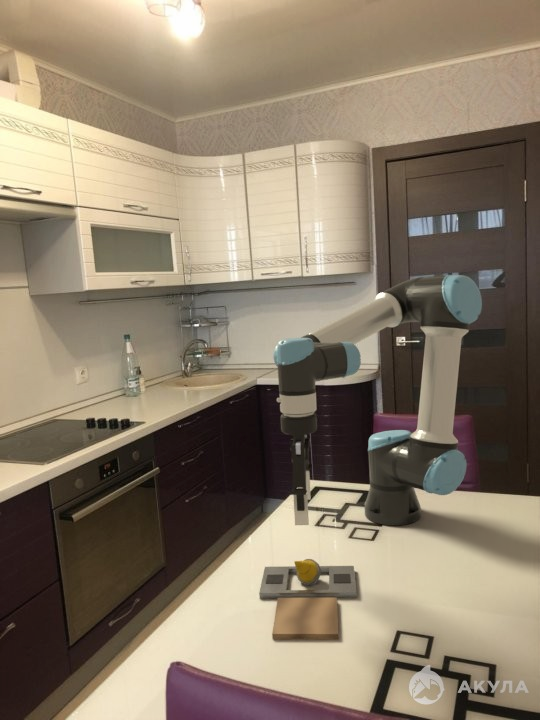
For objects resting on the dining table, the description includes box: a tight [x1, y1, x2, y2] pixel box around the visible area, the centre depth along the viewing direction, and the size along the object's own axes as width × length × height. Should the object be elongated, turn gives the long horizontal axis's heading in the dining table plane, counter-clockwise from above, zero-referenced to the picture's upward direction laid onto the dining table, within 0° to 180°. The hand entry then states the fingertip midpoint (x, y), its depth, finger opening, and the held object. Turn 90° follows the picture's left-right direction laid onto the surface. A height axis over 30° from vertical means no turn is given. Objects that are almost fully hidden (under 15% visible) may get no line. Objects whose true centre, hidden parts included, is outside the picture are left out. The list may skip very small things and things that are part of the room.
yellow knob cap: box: [293, 558, 322, 586], centre depth 121 cm, size 5×5×10 cm
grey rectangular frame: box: [258, 565, 357, 599], centre depth 121 cm, size 20×11×1 cm, turn 84°
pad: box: [271, 598, 339, 640], centre depth 108 cm, size 12×12×1 cm
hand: (303, 511), depth 119 cm, fingers open, 13 cm apart
